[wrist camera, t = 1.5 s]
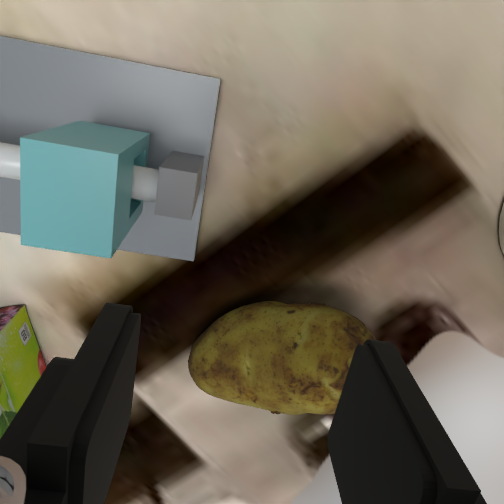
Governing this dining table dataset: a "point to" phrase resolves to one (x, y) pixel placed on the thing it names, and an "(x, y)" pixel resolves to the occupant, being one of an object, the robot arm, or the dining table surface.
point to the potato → (278, 356)
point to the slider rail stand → (117, 115)
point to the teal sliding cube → (80, 187)
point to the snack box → (17, 362)
